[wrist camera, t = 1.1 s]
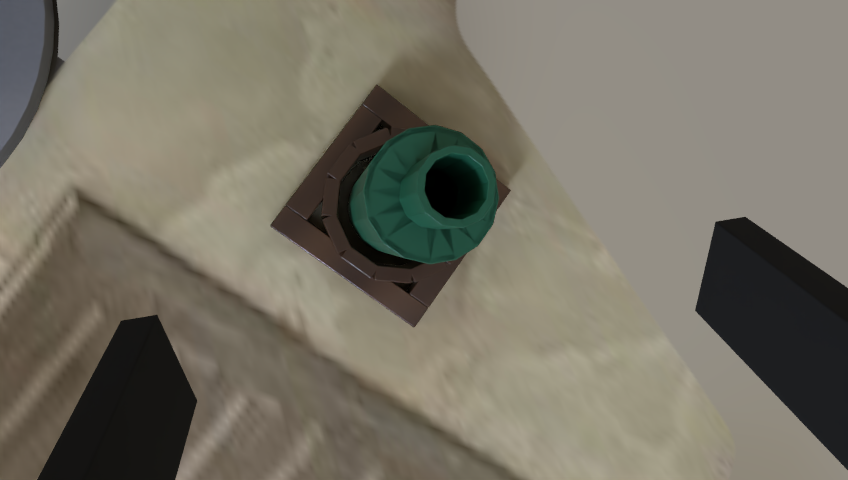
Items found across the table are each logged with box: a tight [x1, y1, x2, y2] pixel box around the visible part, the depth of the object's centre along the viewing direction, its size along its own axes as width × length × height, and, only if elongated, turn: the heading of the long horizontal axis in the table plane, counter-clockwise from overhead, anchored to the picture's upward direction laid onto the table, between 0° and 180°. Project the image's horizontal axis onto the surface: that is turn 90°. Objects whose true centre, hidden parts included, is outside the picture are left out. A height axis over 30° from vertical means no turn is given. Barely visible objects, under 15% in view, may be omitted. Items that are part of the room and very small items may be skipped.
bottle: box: [348, 125, 499, 264], centre depth 30 cm, size 7×7×18 cm
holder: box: [270, 85, 511, 327], centre depth 37 cm, size 13×13×4 cm
